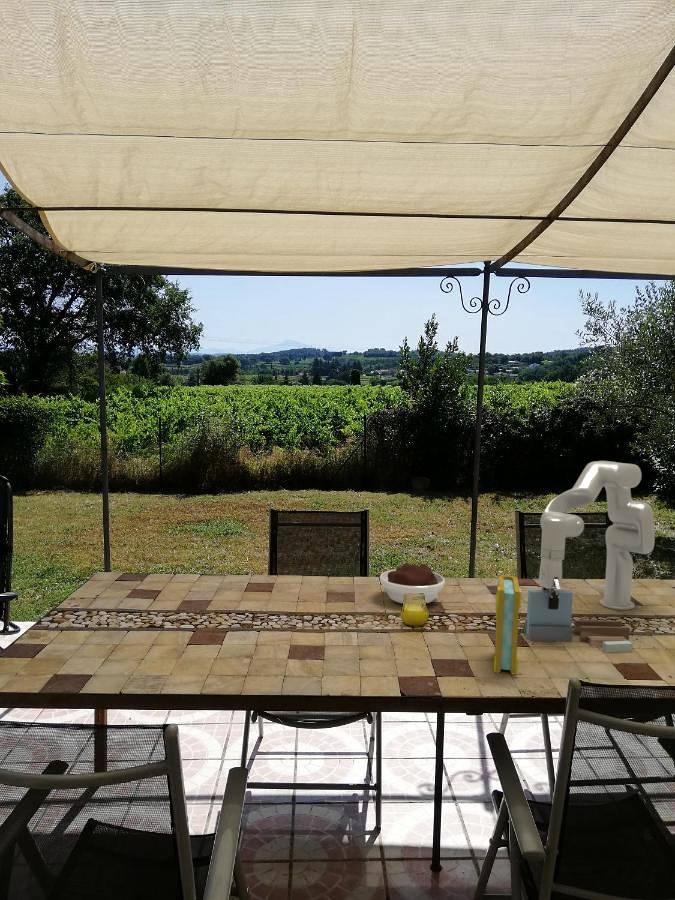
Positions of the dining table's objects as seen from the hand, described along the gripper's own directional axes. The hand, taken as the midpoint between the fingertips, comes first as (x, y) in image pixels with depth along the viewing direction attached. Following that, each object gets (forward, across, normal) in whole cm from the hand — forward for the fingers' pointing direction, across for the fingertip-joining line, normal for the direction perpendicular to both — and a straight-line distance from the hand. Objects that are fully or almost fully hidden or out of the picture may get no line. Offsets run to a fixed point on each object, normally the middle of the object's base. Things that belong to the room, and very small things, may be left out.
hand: (549, 604), depth 239 cm
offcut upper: (+10, +10, +19) cm, 24 cm away
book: (+11, +22, -20) cm, 32 cm away
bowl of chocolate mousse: (+12, -36, -42) cm, 57 cm away
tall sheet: (+11, 0, 0) cm, 11 cm away
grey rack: (+11, 0, 0) cm, 11 cm away
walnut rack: (+11, 0, +18) cm, 21 cm away
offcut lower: (+12, +6, +18) cm, 22 cm away
